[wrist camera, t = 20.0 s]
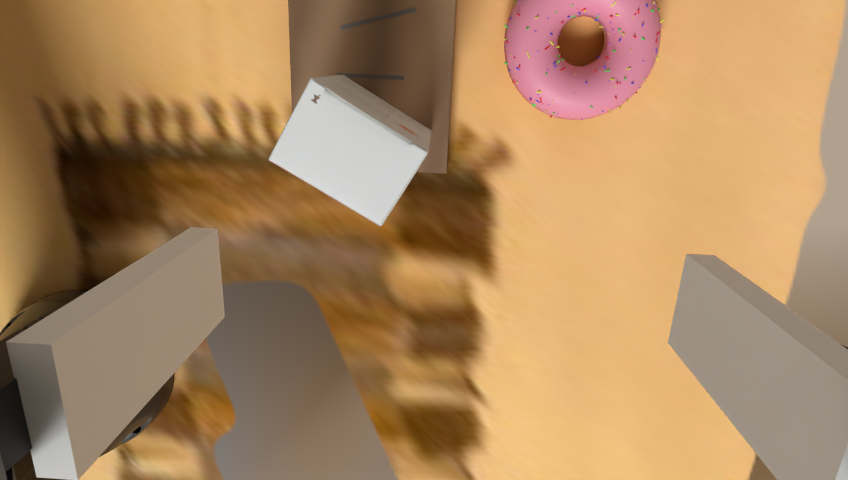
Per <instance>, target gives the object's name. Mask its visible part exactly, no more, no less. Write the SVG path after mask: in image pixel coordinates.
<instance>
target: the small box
mask: <svg viewBox="0 0 848 480" xmlns="http://www.w3.org/2000/svg"><path fill="white" fill-rule="evenodd" d="M431 132H432V131H431V130H430V129H428V128H427V127H425V126H423V125H422V124H420V123H419V122H417V121H415V120H414V119H412V118H411V117H409V116H408V115H406V114H404V113H403V112H401V111H400V110H398V109H396V108H395V107H393V106H392V105H390V104H389V103H387V102H385V101H384V100H382V99H381V98H379V97H377V96H376V95H374V94H373V93H371V92H370V91H368V90H366V89H365V88H363V87H362V86H360V85H358V84H357V83H355V82H354V81H352V80H351V79H349V78H348V77H346V76H345V75H333V76H323V77H312V78H310V80H309V82H308V84H307V85H306V87H305V89H304V91H303V93H302V95H301V97H300V99H299V101H298V103H297V105H296V107H295V109H294V111H293V113H292V115H291V116H290V118H289V120H288V122H287V124H286V126H285V128H284V130H283V132H282V134H281V136H280V138H279V139H278V141H277V143H276V145H275V147H274V149H273V151H272V153H271V155H270V157H269V161H271V162H272V163H274V164H276V165H277V166H279V167H281V168H282V169H284V170H286V171H287V172H289V173H291V174H293V175H294V176H296V177H298V178H299V179H301V180H303V181H304V182H306V183H308V184H310V185H311V186H313V187H315V188H316V189H318V190H320V191H321V192H323V193H325V194H326V195H328V196H330V197H331V198H333V199H335V200H337V201H338V202H340V203H342V204H343V205H345V206H347V207H348V208H350V209H352V210H353V211H355V212H357V213H358V214H360V215H362V216H363V217H365V218H367V219H368V220H370V221H372V222H374V223H375V224H377V225H378V226H382V225H383V223H384V222H385V220H386V219H387V217H388V215H389V214H390V212H391V211H392V209H393V208H394V206H395V205H396V203H397V201H398V200H399V198H400V197H401V195H402V194H403V192H404V191H405V189H406V187H407V186H408V184H409V183H410V181H411V180H412V178H413V176H414V175H415V173H416V172H417V170H418V168H419V167H420V165H421V164H422V162H423V160H424V159H425V157H426V156H427V154H428V151H429V144H430V139H431Z"/></svg>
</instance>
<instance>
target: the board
mask: <svg viewBox="0 0 848 480" xmlns="http://www.w3.org/2000/svg"><path fill="white" fill-rule="evenodd" d="M288 6H289V36H290V65H291V94H292V113H293V111H294V109H295V107H296V105H297V103H298V101H299V99H300V97H301V95H302V93H303V91H304V89H305V87H306V85H307V84H308V82H309V80H310V78H312V77H323V76H333V75H345V76H346V77H348V78H349V79H351V80H352V81H354V82H355V83H357V84H358V85H360V86H362V87H363V88H365V89H366V90H368V91H370V92H371V93H373V94H374V95H376V96H377V97H379V98H381V99H382V100H384V101H385V102H387V103H389V104H390V105H392V106H393V107H395V108H396V109H398V110H400V111H401V112H403V113H404V114H406V115H408V116H409V117H411V118H412V119H414V120H415V121H417V122H419V123H420V124H422V125H423V126H425V127H427V128H428V129H430V130H431V131H432V132H431V139H430V144H429V151H428V154H427V156H426V157H425V159H424V160H423V162H422V164H421V165H420V167H419V168H418V170H417V172H425V173H445V174H446V171H447V153H448V135H449V117H450V99H451V81H452V63H453V45H454V27H455V9H456V0H288Z"/></svg>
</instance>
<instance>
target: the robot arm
mask: <svg viewBox="0 0 848 480" xmlns="http://www.w3.org/2000/svg"><path fill="white" fill-rule="evenodd" d="M224 317H225V315H224V303H223V290H222V278H221V266H220V254H219V241H218V229H212V228H194V227H191V228H189V229H187V230H186V231H184V232H183V233H181V234H179V235H178V236H176V237H174V238H173V239H171V240H170V241H168V242H166V243H165V244H163V245H162V246H160V247H158V248H157V249H155V250H153V251H152V252H150V253H149V254H147V255H145V256H144V257H142V258H141V259H139V260H137V261H136V262H134V263H133V264H131V265H129V266H128V267H126V268H124V269H123V270H121V271H120V272H118V273H116V274H115V275H113V276H112V277H110V278H108V279H107V280H105V281H103V282H102V283H100V284H99V285H97V286H95V287H94V288H92V289H91V290H89V291H64V292H59V293H55V294H51V295H49V296H46V297H44V298H42V299H40V300H38V301H37V302H35V303H33V304H32V305H30V306H28V307H26V308H25V309H23V310H21V311H20V312H19V313H17V314H16V315H15V316H14V317H13V318H12V319H11V320H10V321H9V322H8V323H7V324H6V326H5V327H4V328H3V329H2V331H1V333H0V480H79V478H80V477H81V476H82V475H83V474H84V473H85V472H86V471H87V470H88V468H89V467H90V466H91V465H92V464H93V463H94V462H95V461H96V460H97V458H99V457H100V456H102V455H104V454H106V453H108V452H109V451H111V450H113V449H115V448H116V447H118V446H119V445H121V444H122V443H125V442H127V441H129V440H131V439H132V438H134V437H136V436H137V435H139V434H140V433H141V432H143V431H144V430H145V429H146V428H147V427H148V426H149V425H150V424H151V423H152V422H153V421H154V419H155V418H156V417H157V416H158V415H159V413H160V412H161V411H162V410H163V408H164V407H165V405H166V404H167V402H168V400H169V397H170V395H171V391H172V387H173V374H174V373H175V372H176V370H177V369H178V368H179V367H180V366H181V365H182V364H183V363H184V362H185V360H186V359H187V358H188V357H189V356H190V355H191V354H192V353H193V352H194V350H195V349H196V348H197V347H198V346H199V345H200V344H201V343H202V342H203V340H204V339H205V338H206V337H207V336H208V335H209V334H210V333H211V331H212V330H213V329H214V328H215V327H216V326H217V325H218V324H219V323H220V321H221V320H222V319H223V318H224ZM668 343H669V345H670V346H671V347H672V348H673V350H674V351H675V352H676V353H677V355H678V356H679V357H680V358H681V360H682V361H683V362H684V363H685V365H686V366H687V367H688V368H689V370H690V371H691V372H692V373H693V375H694V376H695V377H696V378H697V380H698V381H699V382H700V383H701V385H702V386H703V387H704V388H705V390H706V391H707V392H708V393H709V395H710V396H711V397H712V398H713V400H714V401H715V402H716V404H717V405H718V406H719V407H720V409H721V410H722V411H723V412H724V414H725V415H726V416H727V417H728V419H729V420H730V421H731V422H732V424H733V425H734V426H735V427H736V429H737V430H738V431H739V432H740V434H741V435H742V436H743V437H744V439H745V440H746V441H747V442H748V444H749V445H750V446H751V447H752V449H753V450H754V451H755V452H756V454H757V455H758V456H759V457H760V459H761V460H762V461H763V462H764V464H765V465H766V466H767V467H768V469H769V470H770V471H771V472H772V474H773V475H774V476H775V478H776V479H777V480H848V347H845V346H843V345H841V344H839V343H838V342H836V341H835V340H833V339H832V338H830V337H829V336H828V335H826V334H825V333H824V332H822V331H821V330H819V329H818V328H817V327H815V326H813V325H812V324H811V323H809V322H808V321H807V320H805V319H804V318H802V317H801V316H800V315H798V314H797V313H795V312H794V311H793V310H791V309H789V308H788V307H787V306H785V305H784V304H783V303H781V302H780V301H778V300H777V299H776V298H774V297H773V296H771V295H770V294H768V293H767V292H766V291H764V290H763V289H761V288H760V287H759V286H757V285H756V284H754V283H753V282H751V281H750V280H749V279H747V278H746V277H744V276H743V275H742V274H740V273H739V272H737V271H736V270H735V269H733V268H732V267H730V266H729V265H727V264H726V263H725V262H723V261H722V260H720V259H719V258H718V257H716V256H715V255H698V254H686V258H685V263H684V268H683V273H682V277H681V282H680V287H679V292H678V297H677V302H676V307H675V311H674V316H673V321H672V326H671V331H670V336H669V340H668Z"/></svg>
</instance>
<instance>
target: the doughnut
mask: <svg viewBox="0 0 848 480" xmlns="http://www.w3.org/2000/svg"><path fill="white" fill-rule="evenodd" d="M656 5H657V4H656V2H655V0H517V1H515V4H514V6H513V8H512V10H511V13H510V15H509V18H508V22H507V26H506V25H505V27H506V31H505V39H504V50H505V59H506V62H505V64H507V68H508V72H509V75H510V77H511V79H512V81H513V83H514V85H515V86H516V88H517V89H518V91H519V92H520V94H521V95H522V96H523V97H524V98H525V99H526V100H527V101H528V102H529V103H530V104H531V105H532V106H534V107H535V108H537V109H538V110H540V111H542V112H544V113H546V114H548V115H551V116H550V117H552V116H554V117H557V118H562V119H571V120H583V119H589V118H593V117H596V116H599V115H602V114H605V113H608V112H609V113H610V111H612V110H614V109H616V108H617V107H619V108H621V105H622V104H623V103H625V102H626V101H627V102H628V99H629V98H630V97H631V96H632V95H633V94H634V93H637V92H636V91H637V90H638V89H639V88H641V87H640V86H641V85H642V84H643V83H644V81H645V80H646V78H647V77H648V75H649V74H650V72H651V70H652V68H653V66H654V63H655V61H656V59H658V58H659V57H657V55H658V50H659V45H660V34H661V26H662V25H661V22H662V21H663V19H662V20H661V21H660V15H659V12H658V9H660V8H657V6H656ZM580 16H588V17H591V18H594V19H595V21H598V22H599V24H600V25H601V26H599V28H601V27H602V29H603V31H604V37H605V42H604V47H603V50H602V52H601V54H600V56H598V57H597V59H596V60H595V61H594V62H592V63H590V64H588V65H585V66H574V65H571V64H569V63H568V62H566V61H565V60H564V58H563V57H562V55H561V54H560V52H559V49H558V48H559V47H560V46H558V38H559V35H561V33H560V32H561V30H562V28H563V27H564V26H565V25H566V23H568V22H569V21H570V20H572V19H574V18H576V17H580Z"/></svg>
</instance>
